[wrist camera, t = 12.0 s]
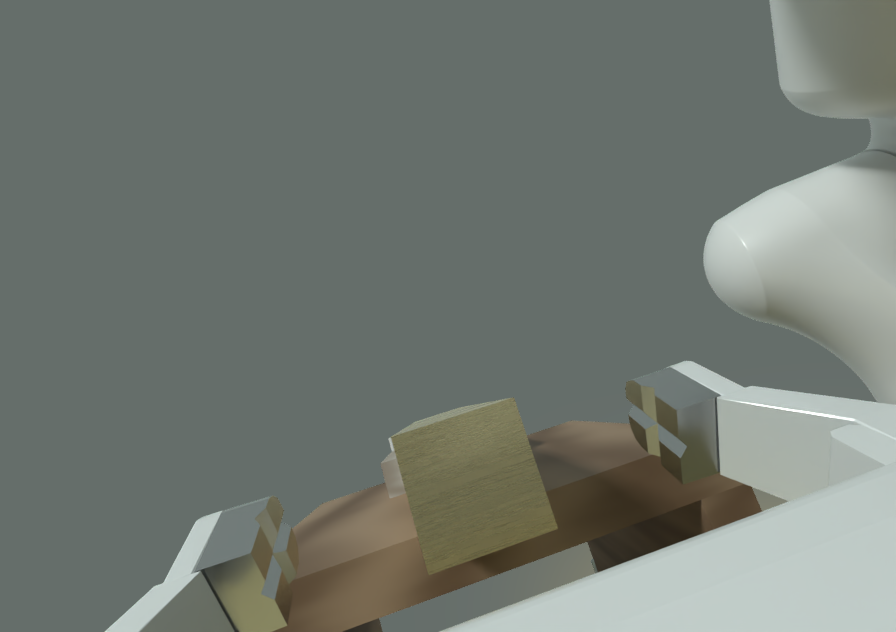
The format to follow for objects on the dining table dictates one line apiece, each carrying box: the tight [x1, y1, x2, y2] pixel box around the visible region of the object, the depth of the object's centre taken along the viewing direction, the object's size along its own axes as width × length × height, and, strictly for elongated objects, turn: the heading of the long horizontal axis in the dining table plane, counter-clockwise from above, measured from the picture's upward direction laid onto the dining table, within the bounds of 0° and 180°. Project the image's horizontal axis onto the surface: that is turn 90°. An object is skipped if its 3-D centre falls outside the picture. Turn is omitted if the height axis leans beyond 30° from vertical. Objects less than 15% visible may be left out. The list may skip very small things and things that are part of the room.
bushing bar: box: [391, 398, 558, 575], centre depth 22 cm, size 4×22×4 cm, turn 2°
